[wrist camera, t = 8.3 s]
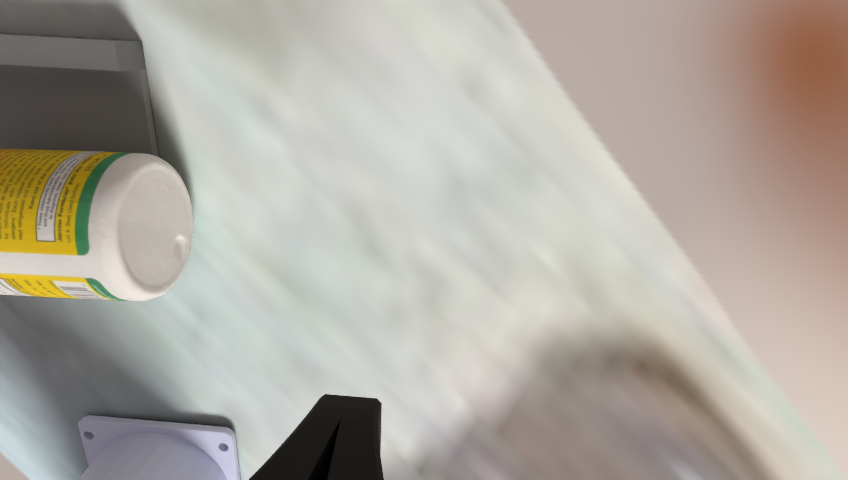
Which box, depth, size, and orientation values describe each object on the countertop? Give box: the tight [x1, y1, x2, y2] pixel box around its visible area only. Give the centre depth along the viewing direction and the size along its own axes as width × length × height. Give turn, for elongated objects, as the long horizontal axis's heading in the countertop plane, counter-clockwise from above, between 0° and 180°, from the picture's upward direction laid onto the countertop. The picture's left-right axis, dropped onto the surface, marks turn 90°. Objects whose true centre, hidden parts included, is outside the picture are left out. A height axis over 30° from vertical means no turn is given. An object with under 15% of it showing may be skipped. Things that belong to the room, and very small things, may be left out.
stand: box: [0, 33, 159, 157], centre depth 20 cm, size 10×11×2 cm
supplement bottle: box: [0, 148, 193, 301], centre depth 18 cm, size 5×5×10 cm
